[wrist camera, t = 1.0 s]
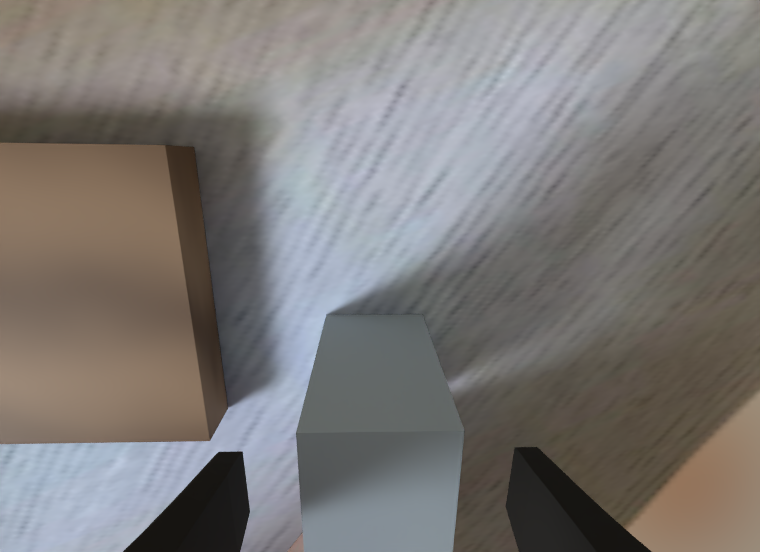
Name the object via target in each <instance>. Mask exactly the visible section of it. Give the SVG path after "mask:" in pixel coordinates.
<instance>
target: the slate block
mask: <svg viewBox="0 0 760 552" xmlns="http://www.w3.org/2000/svg"><path fill="white" fill-rule="evenodd" d="M464 432H465V430H464V428H463V425H462V422H461V419H460V417H459V414H458V411H457V408H456V406H455V403H454V400H453V397H452V395H451V392H450V389H449V386H448V384H447V381H446V378H445V375H444V372H443V370H442V367H441V364H440V361H439V359H438V356H437V353H436V350H435V348H434V345H433V342H432V339H431V337H430V334H429V331H428V328H427V326H426V323H425V320H424V317H423V314H351V315H326V318H325V322H324V326H323V330H322V334H321V338H320V342H319V346H318V350H317V354H316V358H315V361H314V365H313V369H312V373H311V377H310V381H309V385H308V389H307V393H306V397H305V400H304V404H303V408H302V412H301V416H300V420H299V424H298V428H297V432H296V438H297V453H298V469H299V484H300V499H301V514H302V529H303V544H304V552H453V544H454V534H455V524H456V514H457V503H458V493H459V483H460V473H461V462H462V452H463V442H464Z"/></svg>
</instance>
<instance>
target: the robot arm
mask: <svg viewBox="0 0 760 552" xmlns="http://www.w3.org/2000/svg"><path fill="white" fill-rule="evenodd" d="M506 509H507V512H508V516H509V519H510V523H511V526H512V530H513V533H514V536H515V539H516V543H517V546H518V549H519V552H651V551H650V550H649V549H648V548H647V547H645V546H644V545H643V544H641V542H639V541H638V540H637V539H636V538H635V537H633V536H632V535H631V534H630V533H629V532H628V531H627V530H626V529H624V528H623V527H622V526H621V525H620V524H619V523H618V522H616V521H615V520H614V519H613V518H612V517H611V516H610V515H609V514H608V513H606V512H605V511H604V510H603V509H602V508H601V507H600V506H599V505H598V504H597V503H596V502H594V501H593V500H592V499H591V498H590V497H589V496H588V495H587V494H586V493H585V492H584V491H583V490H582V489H581V488H580V487H578V486H577V485H576V484H575V483H574V482H573V481H572V480H571V479H570V478H569V477H568V476H567V475H566V474H565V473H564V472H563V471H562V470H561V469H560V468H559V467H558V466H557V465H556V464H554V463H553V462H552V461H551V460H550V459H549V458H548V457H547V456H546V455H545V454H544V453H543V452H542V451H541V450H540V449H539V448H538V447H516V448H515V449H514V456H513V462H512V469H511V475H510V482H509V489H508V495H507V502H506ZM249 513H250V509H249V500H248V492H247V484H246V476H245V468H244V460H243V452H218V453H217V454H216V455H215V456H214V457H213V458H212V459H211V460H210V462H209V463H208V464H207V465H206V466H205V467H204V468H203V469H202V470H201V471H200V472H199V474H198V475H197V476H196V477H195V478H194V479H193V480H192V481H191V482H190V483H189V484H188V486H187V487H186V488H185V489H184V490H183V491H182V492H181V493H180V494H179V495H178V496H177V497H176V498H175V500H174V501H173V502H172V503H171V504H170V505H169V506H168V507H167V508H166V509H165V510H164V511H163V512H162V513H161V514H160V515H159V516H158V517H157V518H156V519H155V520H154V521H153V522H152V523H151V524H150V526H149V527H148V528H147V529H146V530H145V531H144V532H143V533H142V534H141V535H140V536H139V537H138V538H137V539H136V540H134V541H133V542H132V543H131V544H130V545H129V546H128V547H127V548H126V549H125V550H124V551H123V552H240V550H241V546H242V542H243V538H244V534H245V530H246V526H247V522H248V517H249Z"/></svg>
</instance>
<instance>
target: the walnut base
mask: <svg viewBox="0 0 760 552" xmlns="http://www.w3.org/2000/svg"><path fill="white" fill-rule="evenodd" d="M227 409H228V406H227V398H226V390H225V382H224V375H223V367H222V359H221V352H220V344H219V336H218V328H217V321H216V313H215V305H214V297H213V290H212V282H211V274H210V267H209V259H208V251H207V243H206V236H205V228H204V220H203V213H202V205H201V197H200V189H199V182H198V174H197V166H196V158H195V151H194V147H185V146H171V145H123V144H55V143H0V444H36V443H104V442H173V441H210V440H211V438H212V436H213V434H214V433H215V431H216V429H217V427H218V425H219V424H220V422H221V420H222V418H223V416H224V415H225V413H226V411H227Z"/></svg>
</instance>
